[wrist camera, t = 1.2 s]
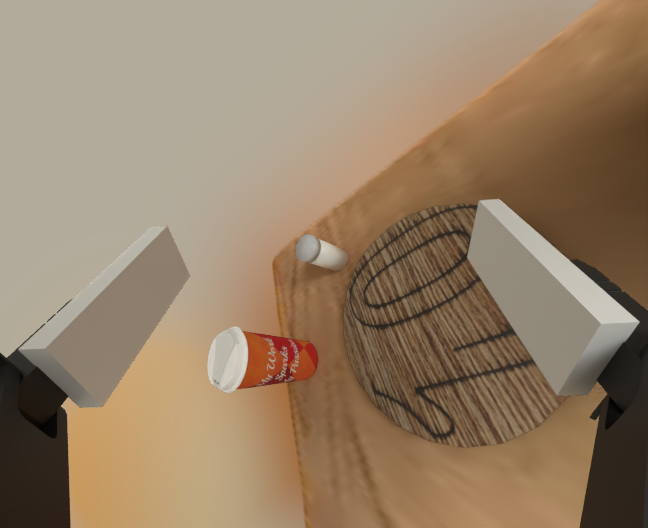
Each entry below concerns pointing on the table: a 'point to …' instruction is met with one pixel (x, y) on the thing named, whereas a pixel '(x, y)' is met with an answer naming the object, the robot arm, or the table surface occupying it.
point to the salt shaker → (321, 253)
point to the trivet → (440, 337)
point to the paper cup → (258, 360)
